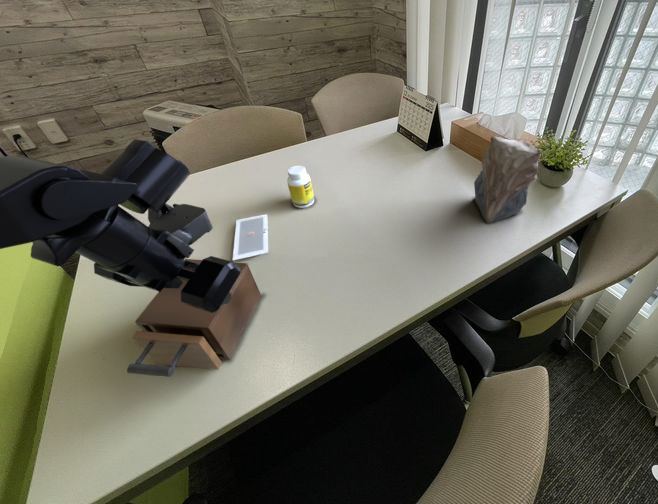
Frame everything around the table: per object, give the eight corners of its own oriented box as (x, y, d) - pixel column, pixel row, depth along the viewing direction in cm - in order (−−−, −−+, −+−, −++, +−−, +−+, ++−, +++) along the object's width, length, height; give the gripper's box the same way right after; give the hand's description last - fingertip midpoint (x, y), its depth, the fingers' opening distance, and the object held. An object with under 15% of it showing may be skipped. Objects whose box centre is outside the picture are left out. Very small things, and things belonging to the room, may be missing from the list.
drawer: (203, 399, 52) (180, 374, 47) (137, 392, 53) (107, 367, 48) (251, 307, 66) (237, 279, 60) (197, 302, 67) (179, 275, 61)
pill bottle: (312, 208, 92) (304, 176, 85) (290, 208, 92) (281, 176, 85) (316, 195, 97) (310, 163, 90) (296, 195, 97) (288, 163, 90)
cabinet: (230, 359, 58) (208, 327, 52) (164, 353, 59) (134, 321, 53) (262, 296, 69) (247, 263, 62) (205, 292, 70) (185, 258, 63)
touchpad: (234, 263, 76) (231, 257, 75) (237, 223, 87) (235, 217, 86) (269, 255, 78) (266, 249, 77) (268, 217, 89) (266, 211, 88)
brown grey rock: (470, 195, 97) (480, 134, 84) (510, 191, 98) (526, 131, 86) (485, 223, 87) (499, 159, 74) (529, 219, 88) (551, 154, 76)
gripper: (232, 202, 39) (282, 259, 51) (115, 176, 43) (188, 234, 56) (170, 290, 33) (244, 329, 45) (42, 249, 37) (142, 296, 50)
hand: (204, 292), depth 49 cm, fingers open, 9 cm apart
